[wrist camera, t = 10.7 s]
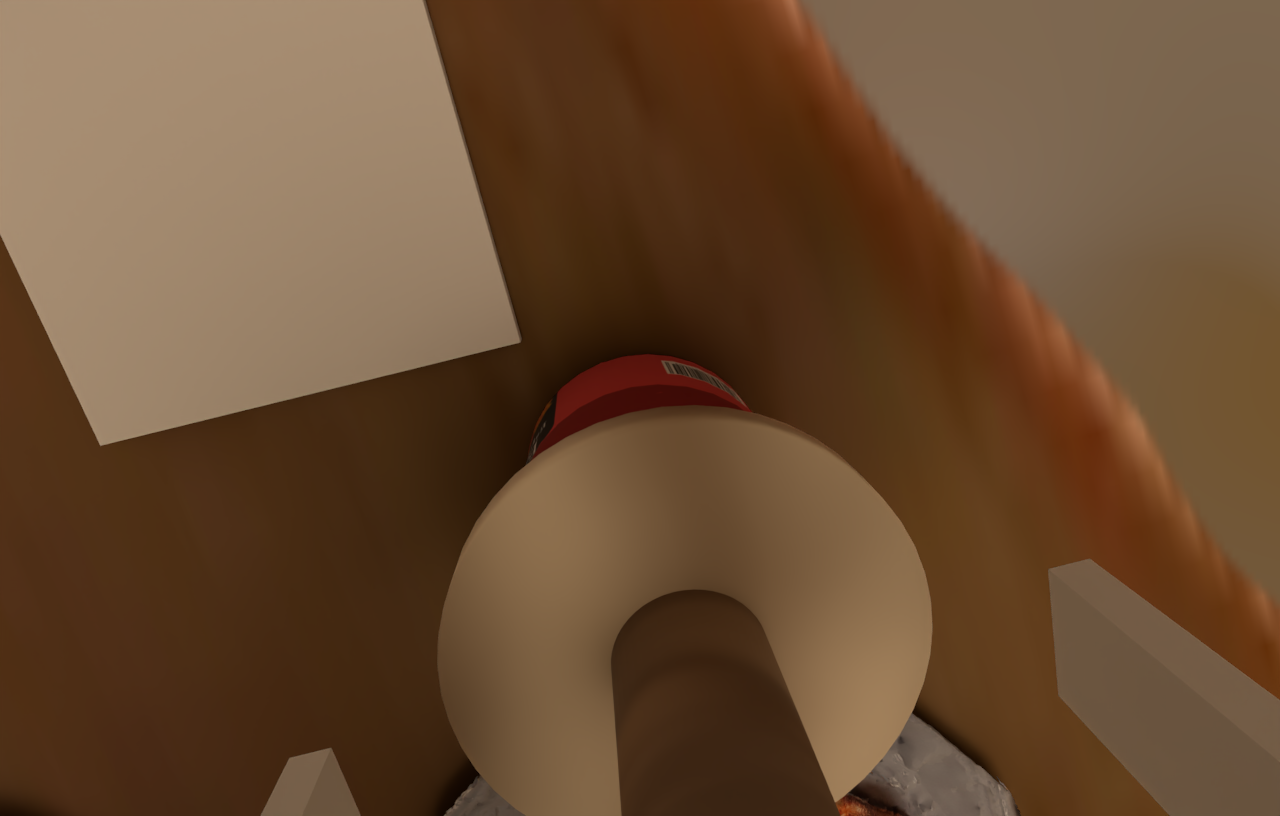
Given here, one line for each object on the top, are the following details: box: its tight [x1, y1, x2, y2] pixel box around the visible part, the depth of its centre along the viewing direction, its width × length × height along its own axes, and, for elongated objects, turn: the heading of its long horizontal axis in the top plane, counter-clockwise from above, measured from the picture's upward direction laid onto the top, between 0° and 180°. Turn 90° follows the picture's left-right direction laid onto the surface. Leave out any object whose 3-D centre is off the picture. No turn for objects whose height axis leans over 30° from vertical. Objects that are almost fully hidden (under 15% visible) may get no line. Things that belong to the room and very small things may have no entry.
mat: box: [0, 0, 522, 446], centre depth 23 cm, size 14×14×1 cm
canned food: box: [526, 354, 751, 465], centre depth 22 cm, size 8×8×11 cm
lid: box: [437, 405, 932, 816], centre depth 14 cm, size 10×10×6 cm
